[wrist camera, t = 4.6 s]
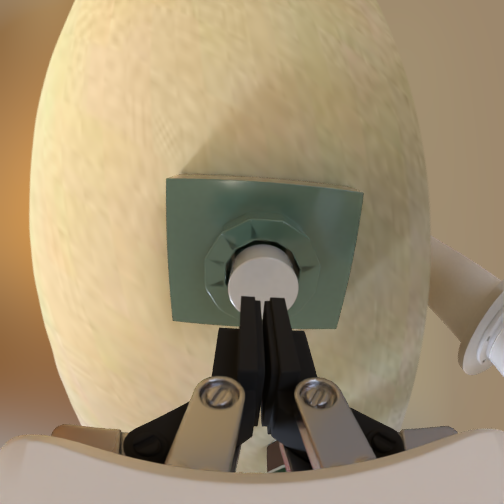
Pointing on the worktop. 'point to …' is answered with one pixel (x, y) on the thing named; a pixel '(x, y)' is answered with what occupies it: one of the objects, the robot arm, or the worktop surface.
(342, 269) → the base
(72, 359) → the worktop surface
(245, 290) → the grey round knob
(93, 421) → the worktop surface
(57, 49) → the worktop surface
